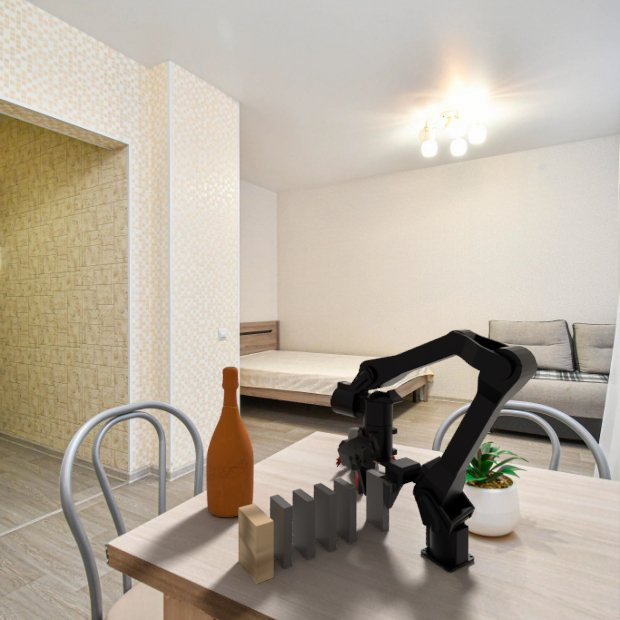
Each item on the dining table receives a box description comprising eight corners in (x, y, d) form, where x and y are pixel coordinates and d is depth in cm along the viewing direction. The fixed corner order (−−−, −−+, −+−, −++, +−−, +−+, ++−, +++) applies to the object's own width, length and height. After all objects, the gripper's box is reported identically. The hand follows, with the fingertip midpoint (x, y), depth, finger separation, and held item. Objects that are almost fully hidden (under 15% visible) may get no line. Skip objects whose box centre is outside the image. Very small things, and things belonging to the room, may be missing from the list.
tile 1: (389, 529, 82) (389, 477, 82) (382, 531, 81) (383, 479, 81) (372, 518, 86) (372, 469, 86) (366, 520, 85) (366, 470, 85)
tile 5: (292, 565, 70) (292, 506, 70) (283, 569, 69) (283, 508, 69) (278, 551, 74) (278, 494, 74) (269, 553, 74) (269, 496, 73)
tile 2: (356, 541, 77) (356, 487, 77) (349, 544, 77) (349, 489, 76) (340, 529, 82) (340, 477, 82) (333, 531, 81) (333, 479, 81)
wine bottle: (263, 506, 91) (263, 366, 90) (227, 525, 83) (227, 372, 82) (233, 493, 97) (232, 362, 96) (196, 509, 89) (196, 367, 89)
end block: (273, 577, 67) (273, 521, 67) (256, 584, 66) (256, 526, 66) (254, 555, 73) (254, 503, 73) (238, 560, 72) (238, 507, 71)
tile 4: (315, 557, 73) (315, 499, 72) (307, 560, 72) (307, 501, 72) (300, 543, 77) (300, 488, 77) (292, 545, 76) (292, 490, 76)
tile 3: (336, 549, 75) (336, 493, 75) (329, 552, 74) (329, 495, 74) (320, 536, 79) (320, 482, 79) (313, 538, 78) (313, 484, 78)
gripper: (317, 417, 87) (317, 493, 87) (378, 443, 71) (378, 535, 71) (360, 410, 93) (359, 481, 93) (425, 432, 77) (424, 518, 77)
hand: (377, 501), depth 83 cm, fingers open, 6 cm apart
